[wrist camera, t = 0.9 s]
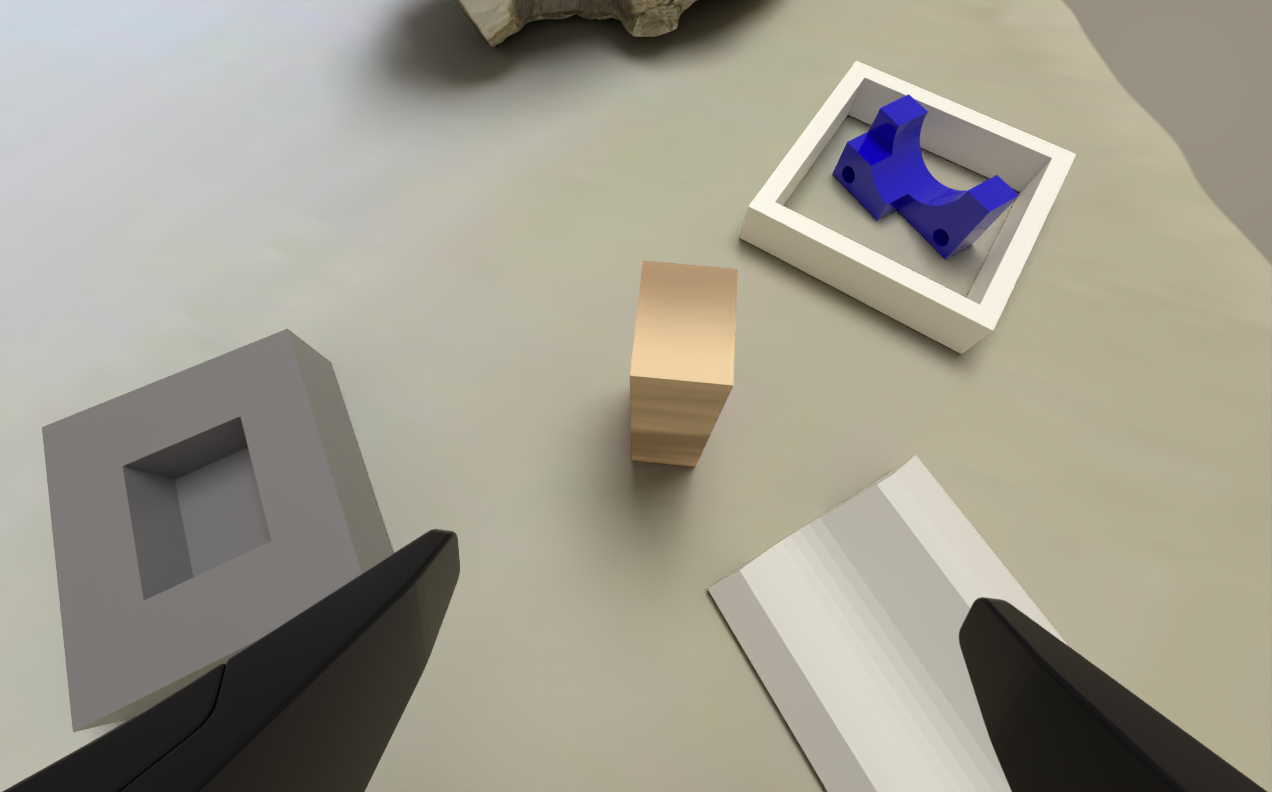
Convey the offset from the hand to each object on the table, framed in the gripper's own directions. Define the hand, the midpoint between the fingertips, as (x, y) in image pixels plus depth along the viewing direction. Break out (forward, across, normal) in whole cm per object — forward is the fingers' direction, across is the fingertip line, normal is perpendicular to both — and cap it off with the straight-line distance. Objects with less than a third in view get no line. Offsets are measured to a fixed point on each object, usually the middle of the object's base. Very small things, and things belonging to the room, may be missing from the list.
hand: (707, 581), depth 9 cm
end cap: (+10, +19, +10) cm, 23 cm away
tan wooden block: (+15, +1, +5) cm, 16 cm away
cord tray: (+26, -11, -5) cm, 28 cm away
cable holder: (+26, -12, -4) cm, 29 cm away
